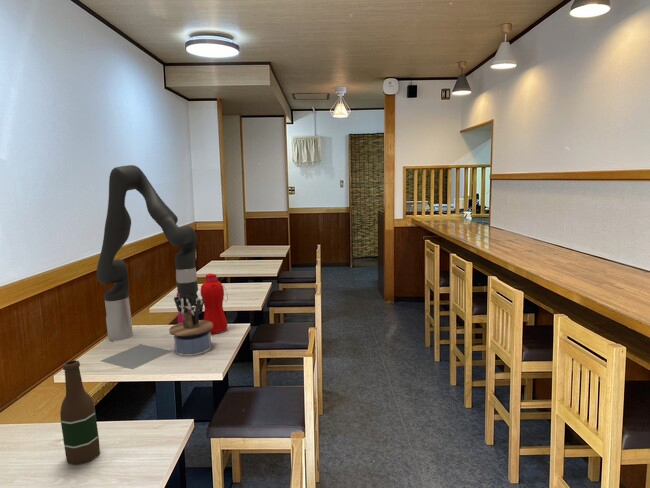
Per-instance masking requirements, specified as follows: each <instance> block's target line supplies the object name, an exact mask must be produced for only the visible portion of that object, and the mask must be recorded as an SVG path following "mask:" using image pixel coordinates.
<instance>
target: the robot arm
mask: <svg viewBox="0 0 650 488" xmlns="http://www.w3.org/2000/svg"><path fill="white" fill-rule="evenodd" d="M108 177H109V180H108V199H107V203H108V204H107V211H106V218H105V223H104V231H103V232H104V233H103V240H102V244H101V245H102V246H101V251H100V254H99V259H98V262H97V266H96V277H97V280H98V282H99V284H101V285H110V284H113V285H112V287H111V288H109V289H108V290H107V291H106V292H105V293H104V294H103V296H104V297H103V298H104V305H105V312H106V317H105V322H106V330H107V337H108V340H109V341H111V342H116V341H122V340H127V339H129V338H132V337H133V335H134V330H133V322H132V313H131V304H130V297H129V291H130V285H129V283H130V282H129V271H128V270H129V269H128V266H127V264H126V262H125V261H124V260H123V259H115V257H116V255H117V254H118V252H119V251H120V250H121V249H122V247H123V246H124V245H125V244H126V242H127V241H128V239H129V237H130V233H131V228H132V218H131V215H130V214H129V211H128V210H127V208H126V196H127V192H128V191H132V190H136V191H137V192H138V193H139V194H140V195H141V196H143V199H144V201H145V205H146V208H147V212H148V214H149V216H150V217H151V218H152V220H154V222H155V223H157V225H158V226H159V227H160V229H161V230H162V233H163V234H164V236H165V238H166V240H167V242H168V243H169V244H171V245H172V246H174V247H177V248H180V249H179V251H178V252H177V253H176V254H175V256H174V262H175V264H174V265H175V279H176V281H175V282H176V290H177V292H178V293H179V296H177V295H176V296H174V298H173V301H174V303H175V304H174V305H175V306H176V310H177V312H178V313H180V312H181V313H182V314H183V313H186V312H188V310H191V313H192V322H193V325H196V324H198V322H199V320H200V319H199V315H200V314H201V313H203V309H204V299H202V298H199V295H198V291H199V284H198V283H199V282H198V274H197V273H198V272H197V268H196V260H195V259H196V258H195V253H196V248H197V243H198V241H197V240H198V238H197V233H196V231H195V229H194V228H193V227H192V226H189V225H185V226H181V227H179V225H178V224H177V223H178V216H177V215H176V214H175V212H173V211H172V210H171V209H170V208H169V206H168V205H167V204H166V203H165V202H164V200H163V199H162V198H161V196H159V194H158V192H157V191H156V189H155V188H154V187H153V185H152V184H151V182H150V180H149V179H148V177H147V176H146V174H145V173H144V172H143V170H142V169H141V168H140V167H138V166H136V165H134V164H133V165H131V164H130V165H122V166H115V167H114V168H112V170H111V171H110V173H109V176H108ZM177 292H176V293H177ZM180 306H181V308H180ZM194 311H195V312H194Z"/></svg>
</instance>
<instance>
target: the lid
mask: <svg viewBox="0 0 650 488" xmlns="http://www.w3.org/2000/svg"><path fill="white" fill-rule="evenodd" d="M194 312H195V310H194ZM182 317H183V322H182V323H178V322H177V323H176V324H173V325H172V326H170V327H169V329H168V331H169V334H170V335H172V336H191V335H197V334H201V333H204V332H207V331H209V330H210V329H212V327H213V323H212V322H210V321H206V320H203V319H198V320H199V322H198V324H196V325H193V322H192V313H191V311H188V312H186V313H183V314H182Z"/></svg>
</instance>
